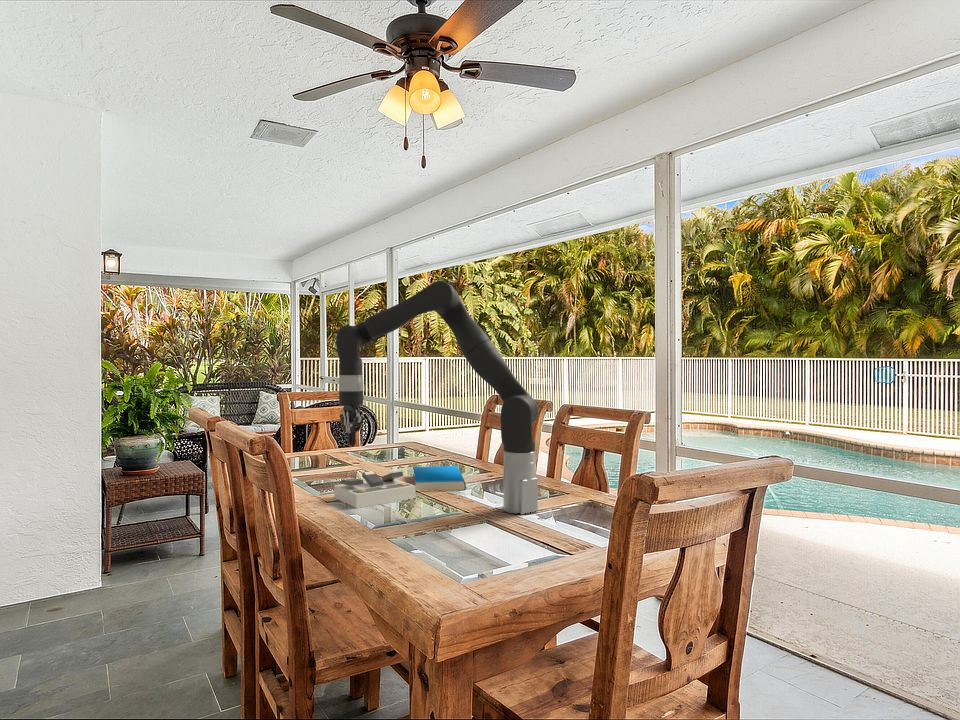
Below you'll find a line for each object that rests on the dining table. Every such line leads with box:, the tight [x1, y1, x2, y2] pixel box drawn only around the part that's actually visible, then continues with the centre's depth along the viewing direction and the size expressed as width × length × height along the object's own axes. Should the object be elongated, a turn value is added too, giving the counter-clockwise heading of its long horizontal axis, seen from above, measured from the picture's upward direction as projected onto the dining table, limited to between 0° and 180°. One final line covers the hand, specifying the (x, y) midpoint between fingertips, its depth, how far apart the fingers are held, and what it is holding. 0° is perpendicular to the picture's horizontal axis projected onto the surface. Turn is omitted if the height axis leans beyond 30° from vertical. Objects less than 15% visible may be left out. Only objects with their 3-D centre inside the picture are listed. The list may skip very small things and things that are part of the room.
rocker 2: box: [361, 470, 384, 487], centre depth 188 cm, size 7×4×2 cm, turn 37°
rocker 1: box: [340, 477, 364, 486], centre depth 184 cm, size 7×4×2 cm, turn 37°
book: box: [413, 465, 466, 492], centre depth 210 cm, size 17×4×25 cm
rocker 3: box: [381, 471, 404, 481], centre depth 192 cm, size 7×4×2 cm, turn 37°
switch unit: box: [333, 478, 417, 509], centre depth 187 cm, size 16×20×4 cm
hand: (351, 444), depth 186 cm, fingers closed
